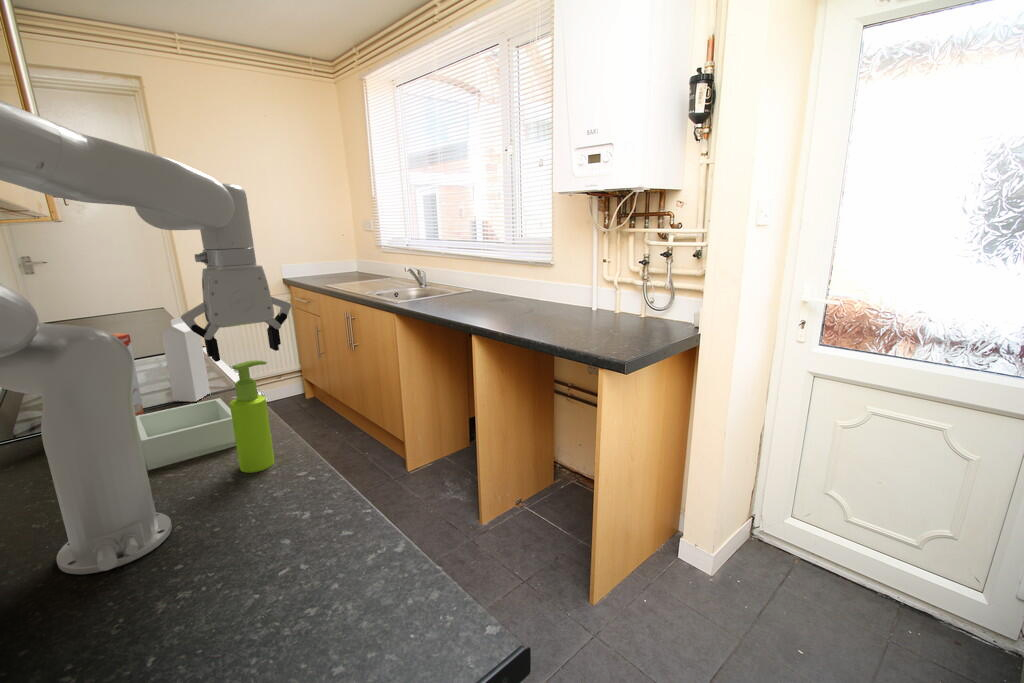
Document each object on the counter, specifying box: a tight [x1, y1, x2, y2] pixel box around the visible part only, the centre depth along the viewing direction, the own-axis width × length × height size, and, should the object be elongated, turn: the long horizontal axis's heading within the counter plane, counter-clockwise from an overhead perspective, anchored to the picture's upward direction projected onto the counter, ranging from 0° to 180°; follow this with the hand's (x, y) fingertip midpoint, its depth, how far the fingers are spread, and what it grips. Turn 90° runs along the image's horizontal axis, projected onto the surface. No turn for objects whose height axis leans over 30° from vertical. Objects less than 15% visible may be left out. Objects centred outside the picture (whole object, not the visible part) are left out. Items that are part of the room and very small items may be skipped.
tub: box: [136, 397, 236, 471], centre depth 99 cm, size 16×16×6 cm
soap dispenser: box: [229, 360, 276, 473], centre depth 88 cm, size 6×7×20 cm
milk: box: [160, 316, 211, 401], centre depth 124 cm, size 6×6×22 cm
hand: (246, 354), depth 86 cm, fingers open, 9 cm apart
